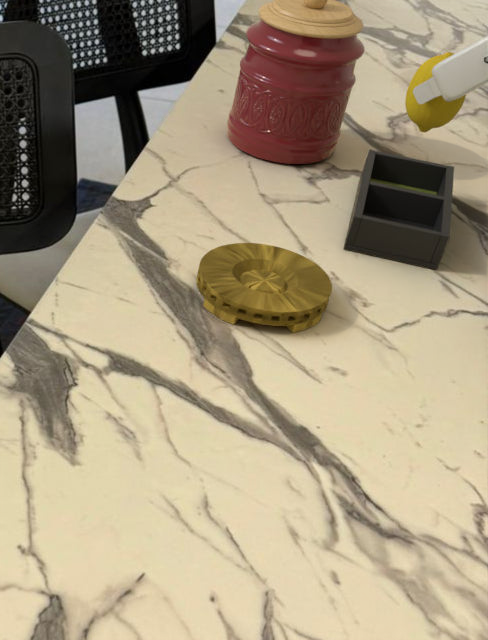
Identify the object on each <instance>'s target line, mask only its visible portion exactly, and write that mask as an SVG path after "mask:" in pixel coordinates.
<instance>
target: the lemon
mask: <svg viewBox="0 0 488 640" xmlns="http://www.w3.org/2000/svg"><path fill="white" fill-rule="evenodd" d="M453 54H455V53H454V52H451V51H446V52H445V53H444V54H439V55H435V56H432V57H430V58H429V59H427V60H425V61H424V62H422V64H421V65H420V66H419V67H418V68H417V69H416V71H415V72H414V74H413V76H412V78H411V80H410V82H409V85H408V88H407V90H406V95H405V111H406V114H407V115H408V119H410V121H411V122H412V123H413V124H415V125H416V126H417V128H418V129H419V132H421V133H427V132H429V131H431V130H432V129H437V128H442V127H443V126H446V125H447V124H449V123H450V122H451V121H452V120H454V118H455V117H456V116H457V115H458V113H459V112H460V111H461V109H462V107H463V105H464V102H465V100H466V96H467V94H466V95H464V96H462V97H460V98H458V99H456V100H453V101H450V102H447V101H445V100H444V99H443V97H442V95H441V96H438V97H436V98H434V99H432V100H430V101H428V102H426V103H424V104H418V103H417V101H416V98H415V96H414V94H413V89H414V88H415V87H416V86H418V85H420V84H422V83H424V82H425V81H427V80H429V79H430V78H432V77H433V75H432V69H433V67H434V66H435V65H437V64H438V63H439V62H441V61H443V60H444V59H446V58H448V57H450V56H452V55H453Z"/></svg>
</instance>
